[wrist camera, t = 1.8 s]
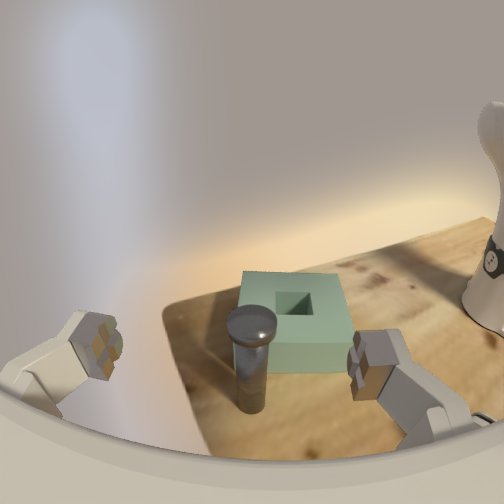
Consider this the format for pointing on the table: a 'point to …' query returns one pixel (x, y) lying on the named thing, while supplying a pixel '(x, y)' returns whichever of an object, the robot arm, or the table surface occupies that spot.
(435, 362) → the table surface
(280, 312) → the socket block
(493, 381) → the table surface
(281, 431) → the table surface
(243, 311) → the pin
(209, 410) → the table surface
